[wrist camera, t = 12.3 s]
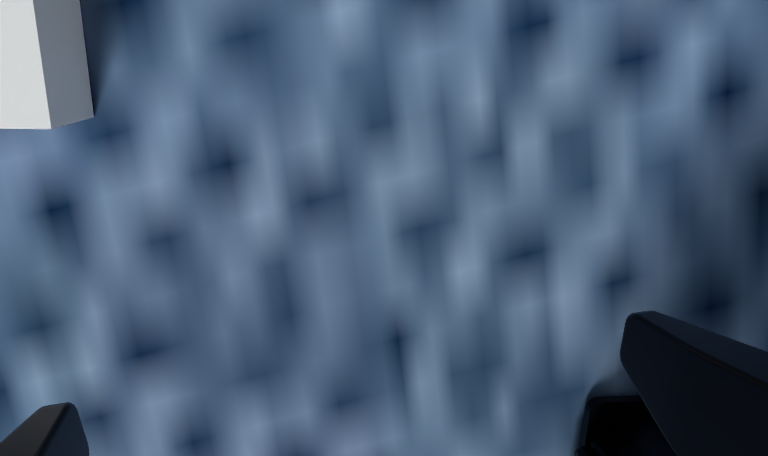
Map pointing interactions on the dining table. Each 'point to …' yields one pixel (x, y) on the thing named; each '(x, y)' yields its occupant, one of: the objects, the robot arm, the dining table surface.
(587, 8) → the dining table surface
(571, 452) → the dining table surface
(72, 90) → the holder sleeve
